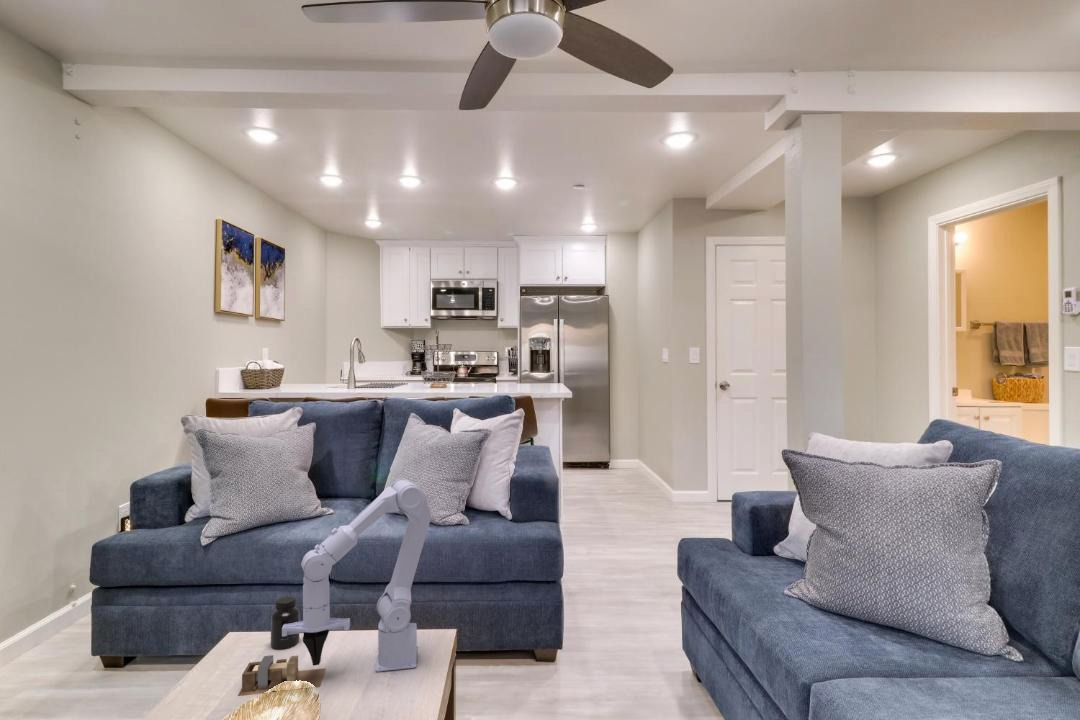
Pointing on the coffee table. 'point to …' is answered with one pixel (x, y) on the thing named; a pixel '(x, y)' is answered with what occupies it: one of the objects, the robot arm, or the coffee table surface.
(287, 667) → the shaft
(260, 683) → the collar
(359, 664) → the coffee table surface
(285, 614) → the supplement bottle
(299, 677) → the jig
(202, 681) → the coffee table surface
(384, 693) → the coffee table surface
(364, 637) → the coffee table surface
